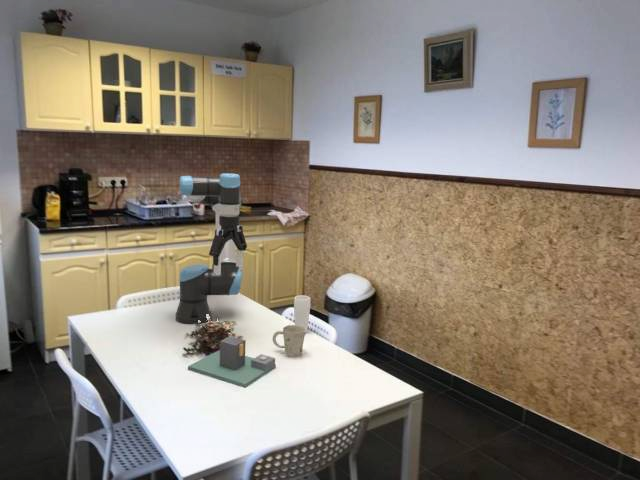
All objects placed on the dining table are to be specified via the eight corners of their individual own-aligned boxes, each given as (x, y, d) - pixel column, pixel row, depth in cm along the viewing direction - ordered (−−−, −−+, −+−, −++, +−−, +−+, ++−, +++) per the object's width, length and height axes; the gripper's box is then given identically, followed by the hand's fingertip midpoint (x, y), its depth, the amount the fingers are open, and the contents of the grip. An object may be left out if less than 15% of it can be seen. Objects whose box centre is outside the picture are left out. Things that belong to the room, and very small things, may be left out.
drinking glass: (308, 335, 213) (310, 300, 210) (292, 334, 213) (293, 299, 210) (309, 329, 219) (311, 295, 217) (293, 328, 220) (294, 294, 217)
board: (188, 369, 176) (188, 357, 176) (221, 352, 192) (221, 341, 191) (245, 387, 165) (245, 375, 165) (275, 367, 181) (276, 356, 180)
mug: (301, 359, 189) (302, 333, 187) (268, 355, 191) (269, 329, 189) (306, 351, 197) (307, 326, 195) (274, 347, 199) (275, 322, 197)
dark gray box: (219, 365, 177) (219, 341, 176) (229, 360, 182) (230, 336, 181) (236, 371, 174) (237, 345, 173) (246, 365, 179) (246, 340, 177)
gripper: (215, 219, 181) (215, 278, 185) (256, 212, 203) (255, 265, 207) (199, 217, 185) (199, 275, 188) (241, 211, 206) (240, 262, 210)
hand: (228, 270), depth 198 cm, fingers open, 13 cm apart
